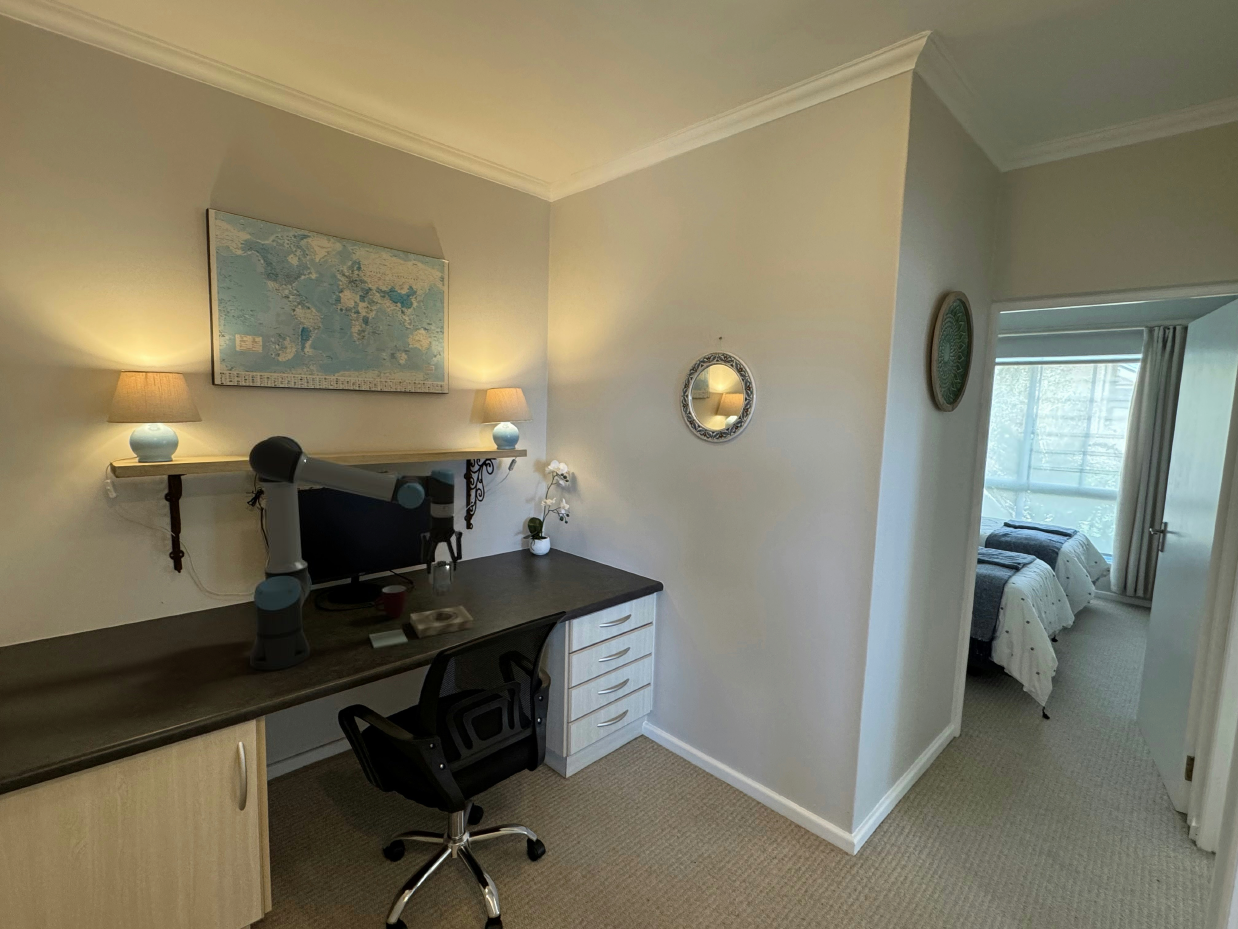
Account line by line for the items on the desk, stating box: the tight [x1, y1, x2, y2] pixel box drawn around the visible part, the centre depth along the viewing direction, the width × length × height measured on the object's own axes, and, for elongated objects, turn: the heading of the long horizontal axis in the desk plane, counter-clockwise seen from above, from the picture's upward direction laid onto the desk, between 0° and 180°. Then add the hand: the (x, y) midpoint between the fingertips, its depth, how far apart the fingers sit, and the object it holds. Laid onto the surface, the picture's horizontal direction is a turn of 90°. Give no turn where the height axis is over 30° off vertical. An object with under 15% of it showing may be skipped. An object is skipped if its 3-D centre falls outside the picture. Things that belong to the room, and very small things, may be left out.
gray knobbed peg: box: [431, 560, 451, 597], centre depth 196 cm, size 6×6×11 cm
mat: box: [368, 629, 409, 650], centre depth 186 cm, size 10×10×1 cm
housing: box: [409, 605, 475, 639], centre depth 198 cm, size 18×14×3 cm
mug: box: [373, 584, 407, 619], centre depth 203 cm, size 11×8×10 cm
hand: (441, 581), depth 197 cm, fingers closed on gray knobbed peg, 6 cm apart
